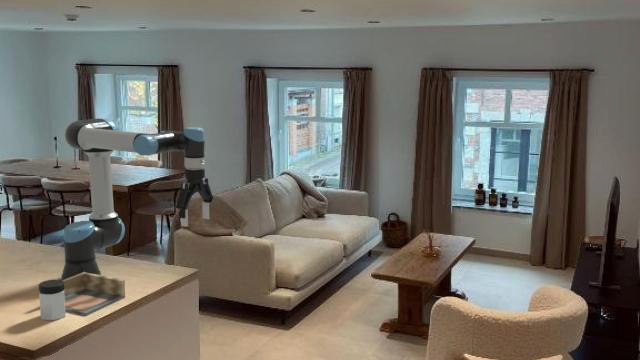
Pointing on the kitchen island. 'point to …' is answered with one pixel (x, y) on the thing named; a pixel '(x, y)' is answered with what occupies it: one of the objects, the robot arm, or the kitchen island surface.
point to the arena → (91, 292)
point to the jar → (52, 299)
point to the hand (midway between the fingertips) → (195, 222)
